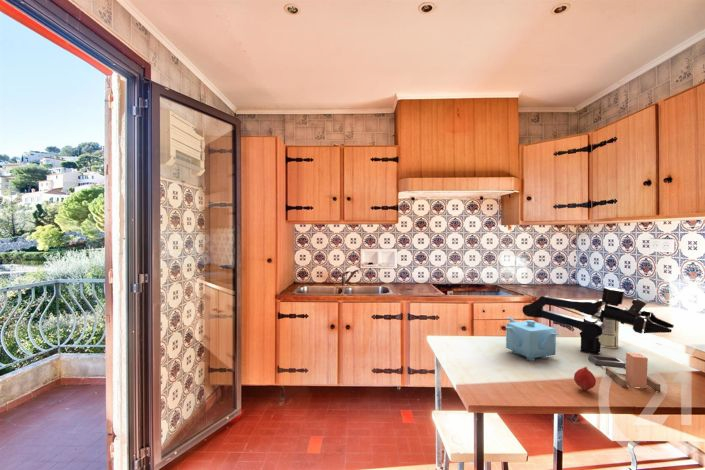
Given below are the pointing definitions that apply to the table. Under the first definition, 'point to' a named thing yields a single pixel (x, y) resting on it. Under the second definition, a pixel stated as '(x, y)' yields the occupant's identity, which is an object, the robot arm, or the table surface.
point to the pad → (617, 370)
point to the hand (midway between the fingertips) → (672, 328)
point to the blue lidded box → (530, 339)
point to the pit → (606, 361)
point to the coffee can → (608, 332)
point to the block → (636, 370)
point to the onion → (584, 379)
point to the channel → (623, 382)
